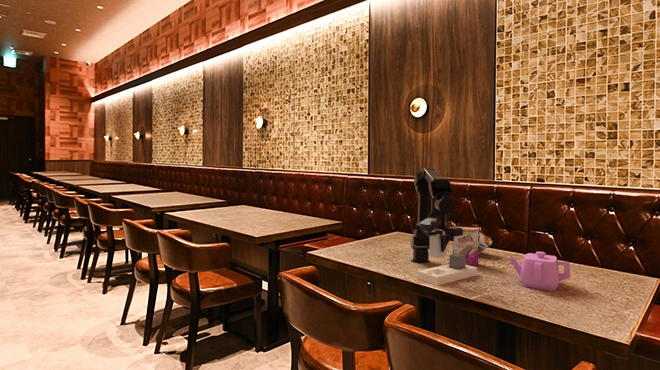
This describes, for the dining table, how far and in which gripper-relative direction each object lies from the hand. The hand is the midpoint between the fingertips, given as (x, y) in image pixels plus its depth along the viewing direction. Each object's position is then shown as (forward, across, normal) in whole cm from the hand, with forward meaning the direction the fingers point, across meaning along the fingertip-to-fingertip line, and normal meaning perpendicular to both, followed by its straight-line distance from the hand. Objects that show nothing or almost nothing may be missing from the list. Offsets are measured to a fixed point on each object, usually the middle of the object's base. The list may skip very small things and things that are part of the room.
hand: (437, 251), depth 156 cm
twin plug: (+11, 0, +12) cm, 16 cm away
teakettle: (+12, +24, +29) cm, 40 cm away
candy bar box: (+12, -10, +31) cm, 35 cm away
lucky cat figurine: (+12, -20, +52) cm, 57 cm away
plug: (+2, 0, 0) cm, 2 cm away
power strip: (+12, 0, +6) cm, 13 cm away
